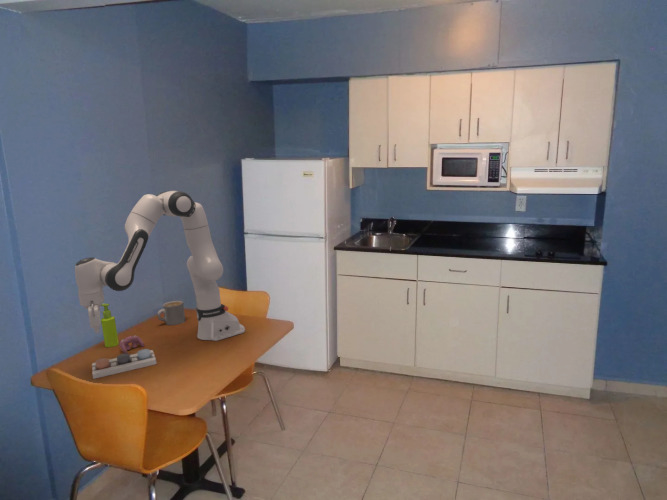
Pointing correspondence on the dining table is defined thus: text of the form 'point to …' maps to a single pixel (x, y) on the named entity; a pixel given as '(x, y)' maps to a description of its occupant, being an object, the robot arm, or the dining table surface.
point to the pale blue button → (144, 354)
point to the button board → (124, 367)
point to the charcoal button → (123, 359)
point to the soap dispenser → (109, 328)
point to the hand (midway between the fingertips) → (97, 331)
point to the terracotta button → (102, 363)
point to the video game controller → (131, 339)
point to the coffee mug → (172, 313)
